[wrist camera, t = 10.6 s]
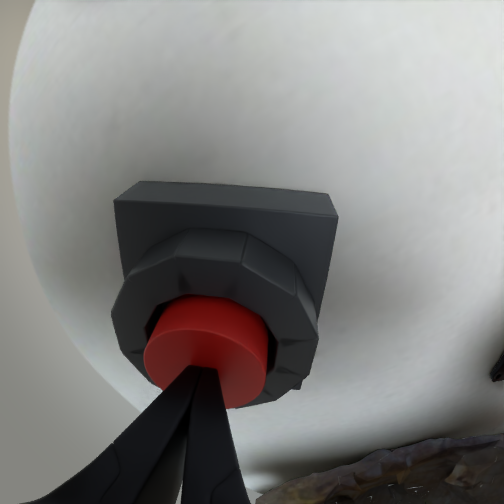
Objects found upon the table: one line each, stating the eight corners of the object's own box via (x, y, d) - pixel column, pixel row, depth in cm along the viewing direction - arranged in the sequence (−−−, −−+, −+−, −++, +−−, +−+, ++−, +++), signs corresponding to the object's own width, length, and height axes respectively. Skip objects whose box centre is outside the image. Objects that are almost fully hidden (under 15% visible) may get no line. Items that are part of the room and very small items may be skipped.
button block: (299, 355, 15) (301, 424, 11) (158, 339, 15) (131, 401, 12) (328, 193, 11) (351, 243, 7) (139, 180, 11) (83, 221, 8)
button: (263, 375, 11) (261, 415, 9) (166, 363, 11) (153, 399, 9) (273, 296, 9) (272, 337, 8) (154, 283, 9) (133, 320, 8)
